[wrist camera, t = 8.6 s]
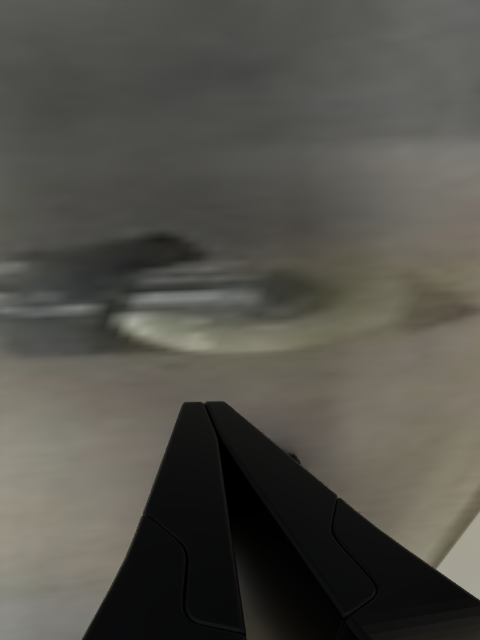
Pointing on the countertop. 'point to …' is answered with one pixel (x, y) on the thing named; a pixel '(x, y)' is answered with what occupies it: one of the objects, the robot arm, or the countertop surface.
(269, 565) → the robot arm
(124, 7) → the countertop surface
